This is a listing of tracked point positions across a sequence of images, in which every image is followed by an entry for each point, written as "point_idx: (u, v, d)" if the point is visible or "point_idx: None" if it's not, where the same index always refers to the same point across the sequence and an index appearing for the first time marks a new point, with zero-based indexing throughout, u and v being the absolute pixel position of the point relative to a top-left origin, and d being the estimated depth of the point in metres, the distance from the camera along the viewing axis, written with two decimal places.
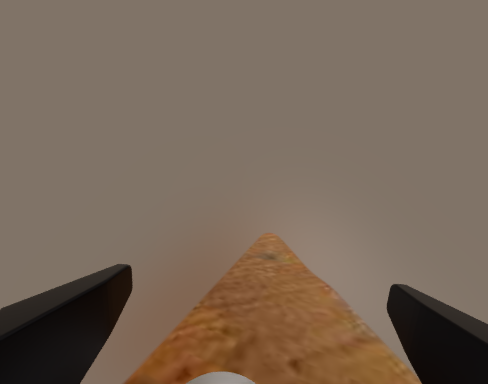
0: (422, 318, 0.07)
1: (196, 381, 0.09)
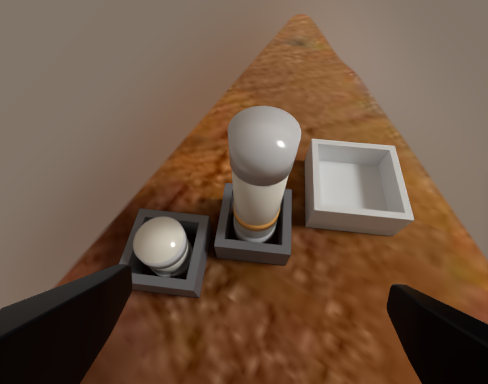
0: (422, 318, 0.07)
1: (247, 110, 0.14)
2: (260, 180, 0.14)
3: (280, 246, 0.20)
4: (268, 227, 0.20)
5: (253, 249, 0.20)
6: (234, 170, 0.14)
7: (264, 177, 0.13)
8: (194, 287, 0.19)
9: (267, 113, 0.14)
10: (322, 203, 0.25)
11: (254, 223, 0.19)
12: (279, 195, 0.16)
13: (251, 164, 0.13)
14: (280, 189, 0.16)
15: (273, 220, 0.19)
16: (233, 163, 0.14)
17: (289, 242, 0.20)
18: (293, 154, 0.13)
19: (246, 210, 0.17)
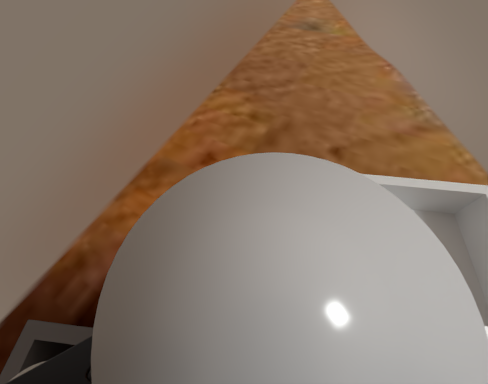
0: None
1: (213, 171, 0.03)
2: None
3: None
4: None
5: None
6: None
7: None
8: None
9: (296, 191, 0.03)
10: None
11: None
12: None
13: None
14: None
15: None
16: None
17: None
18: None
19: None
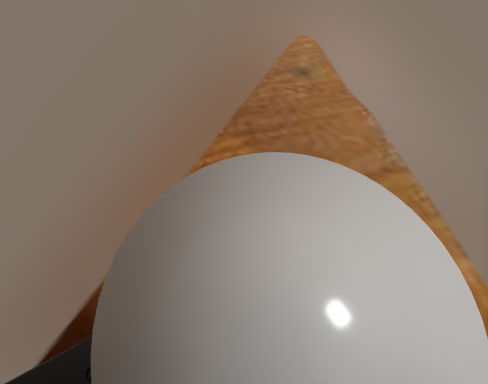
0: None
1: (213, 171, 0.03)
2: None
3: None
4: None
5: None
6: None
7: None
8: None
9: (296, 191, 0.03)
10: None
11: None
12: None
13: None
14: None
15: None
16: None
17: None
18: None
19: None
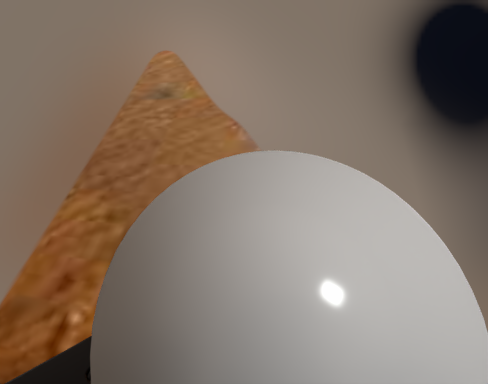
0: None
1: (212, 169, 0.03)
2: None
3: None
4: None
5: None
6: None
7: None
8: None
9: (296, 188, 0.03)
10: None
11: None
12: None
13: None
14: None
15: None
16: None
17: None
18: None
19: None
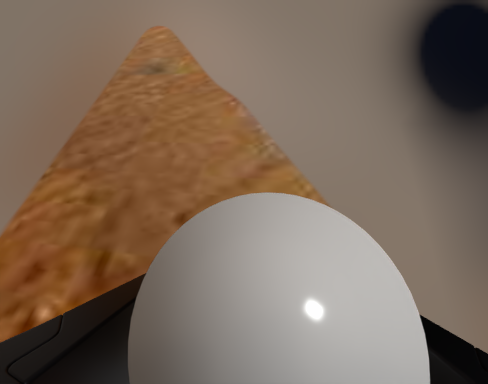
0: None
1: (217, 209, 0.04)
2: None
3: None
4: None
5: None
6: None
7: None
8: None
9: (285, 227, 0.04)
10: None
11: None
12: None
13: None
14: None
15: None
16: None
17: None
18: None
19: None
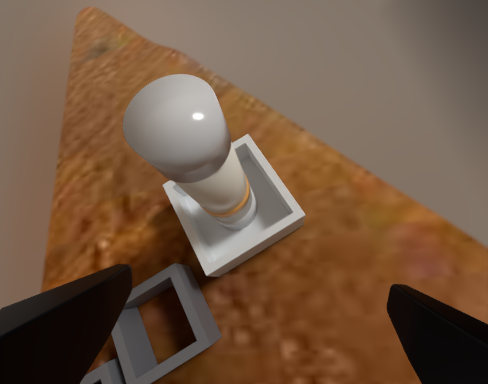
0: (422, 318, 0.07)
1: (142, 91, 0.10)
2: (193, 176, 0.11)
3: (196, 343, 0.17)
4: (242, 207, 0.17)
5: (171, 368, 0.17)
6: (161, 173, 0.11)
7: (195, 171, 0.10)
8: None
9: (168, 87, 0.10)
10: (218, 243, 0.21)
11: (223, 211, 0.16)
12: (233, 176, 0.13)
13: (168, 165, 0.10)
14: (228, 171, 0.12)
15: (244, 199, 0.17)
16: None
17: (202, 331, 0.17)
18: (217, 131, 0.10)
19: (205, 204, 0.15)
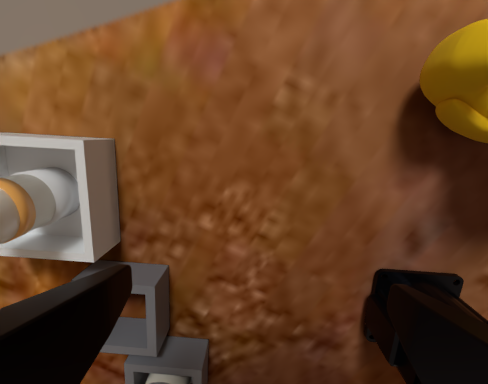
0: (422, 318, 0.07)
1: None
2: None
3: (146, 296, 0.18)
4: (29, 202, 0.15)
5: (154, 321, 0.19)
6: None
7: None
8: (198, 367, 0.20)
9: None
10: None
11: (12, 228, 0.14)
12: None
13: None
14: None
15: (13, 199, 0.14)
16: None
17: (140, 286, 0.18)
18: None
19: None
